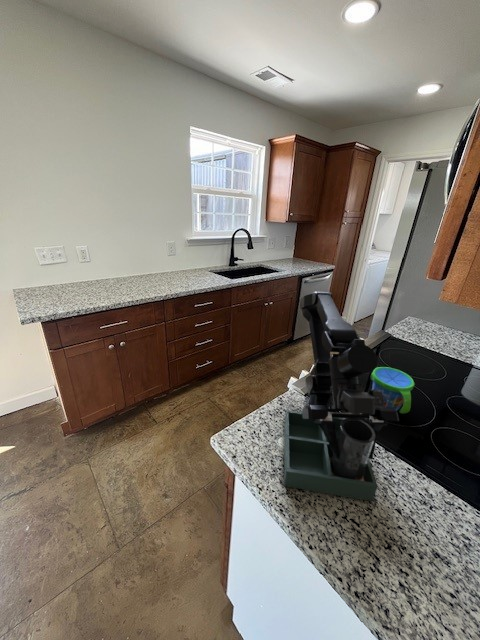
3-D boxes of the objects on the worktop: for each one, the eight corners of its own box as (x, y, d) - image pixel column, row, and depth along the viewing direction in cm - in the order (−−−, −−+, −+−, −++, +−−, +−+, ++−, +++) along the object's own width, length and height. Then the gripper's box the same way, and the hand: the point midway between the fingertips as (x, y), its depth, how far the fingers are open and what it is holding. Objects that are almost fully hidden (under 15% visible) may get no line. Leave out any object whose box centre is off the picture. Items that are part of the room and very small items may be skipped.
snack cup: (357, 387, 87) (363, 361, 83) (389, 388, 87) (397, 362, 83) (378, 423, 73) (387, 394, 69) (417, 425, 73) (428, 395, 68)
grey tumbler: (332, 456, 62) (343, 413, 57) (362, 468, 59) (376, 425, 54) (326, 478, 57) (338, 434, 51) (358, 493, 54) (374, 448, 49)
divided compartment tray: (284, 423, 72) (286, 410, 70) (352, 432, 69) (356, 419, 68) (284, 486, 56) (286, 471, 54) (372, 501, 53) (377, 486, 52)
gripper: (313, 373, 52) (319, 463, 46) (407, 376, 52) (425, 465, 47) (299, 381, 62) (304, 455, 57) (378, 383, 63) (390, 457, 57)
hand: (353, 458), depth 54 cm, fingers closed on grey tumbler, 6 cm apart
